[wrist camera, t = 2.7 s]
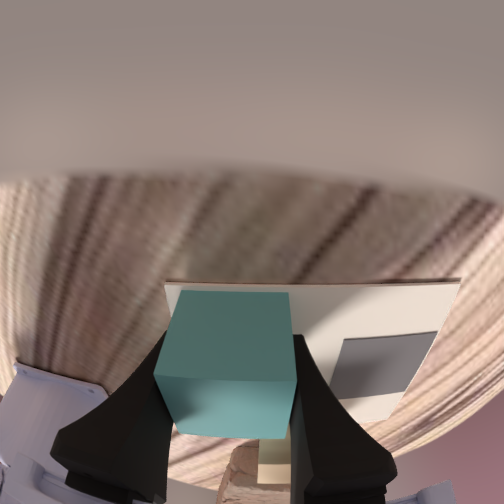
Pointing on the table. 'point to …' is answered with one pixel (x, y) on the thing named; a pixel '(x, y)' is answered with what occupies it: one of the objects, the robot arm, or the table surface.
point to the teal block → (229, 364)
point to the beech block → (275, 460)
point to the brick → (249, 482)
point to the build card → (359, 334)
